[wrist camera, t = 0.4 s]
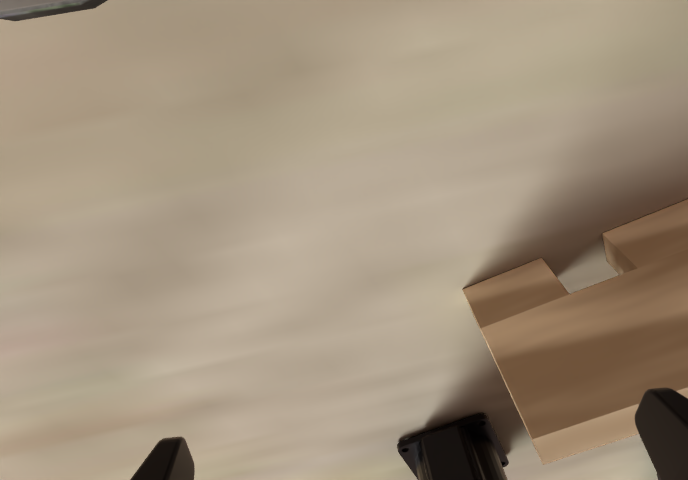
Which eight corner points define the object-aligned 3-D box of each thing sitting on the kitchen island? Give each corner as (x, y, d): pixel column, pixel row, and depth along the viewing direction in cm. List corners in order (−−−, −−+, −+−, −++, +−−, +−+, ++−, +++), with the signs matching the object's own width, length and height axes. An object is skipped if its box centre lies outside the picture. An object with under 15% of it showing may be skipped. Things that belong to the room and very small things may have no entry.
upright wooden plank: (691, 228, 24) (867, 359, 17) (472, 313, 26) (543, 464, 19) (689, 198, 23) (877, 323, 16) (462, 289, 25) (532, 439, 18)
